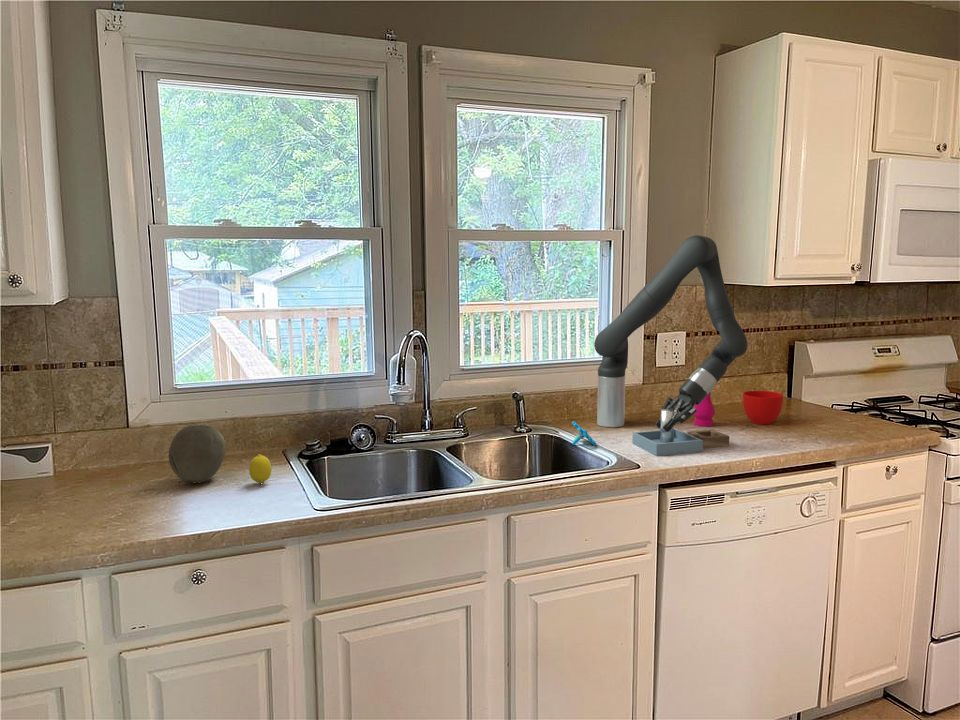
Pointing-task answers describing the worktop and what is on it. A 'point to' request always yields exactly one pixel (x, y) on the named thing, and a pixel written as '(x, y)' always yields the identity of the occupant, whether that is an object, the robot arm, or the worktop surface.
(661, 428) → the pin
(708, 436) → the socket block
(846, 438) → the worktop surface
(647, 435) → the parts tray
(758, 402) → the ceramic cup
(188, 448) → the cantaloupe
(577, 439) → the blue branched flat part
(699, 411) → the pepper mill
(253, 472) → the lemon
